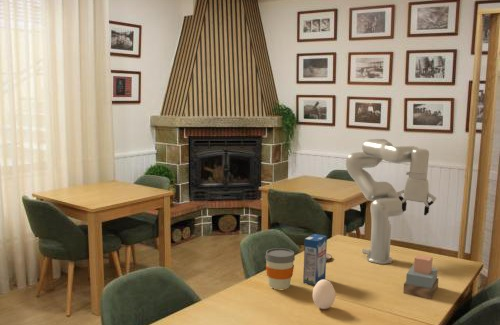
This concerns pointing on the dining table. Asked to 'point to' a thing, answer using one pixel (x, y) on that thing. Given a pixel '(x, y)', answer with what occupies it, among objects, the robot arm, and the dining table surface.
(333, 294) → the egg
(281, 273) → the reusable coffee cup
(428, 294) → the walnut base block
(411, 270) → the slate top block
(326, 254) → the burger
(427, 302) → the dining table surface
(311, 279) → the milk carton
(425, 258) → the terracotta block
